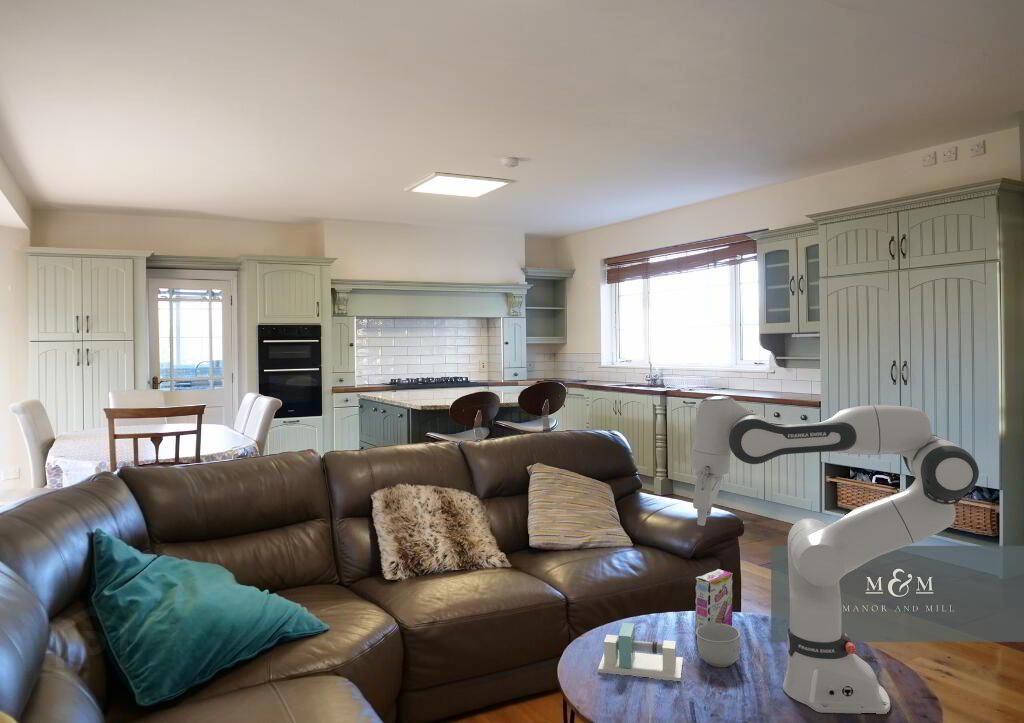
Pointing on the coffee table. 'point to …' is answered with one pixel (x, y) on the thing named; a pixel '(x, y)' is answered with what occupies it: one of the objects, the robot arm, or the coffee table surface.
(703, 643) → the teacup
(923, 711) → the coffee table surface
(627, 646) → the collar
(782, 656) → the coffee table surface
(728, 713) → the coffee table surface
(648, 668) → the pipe stand
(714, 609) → the candy bar box
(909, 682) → the coffee table surface
